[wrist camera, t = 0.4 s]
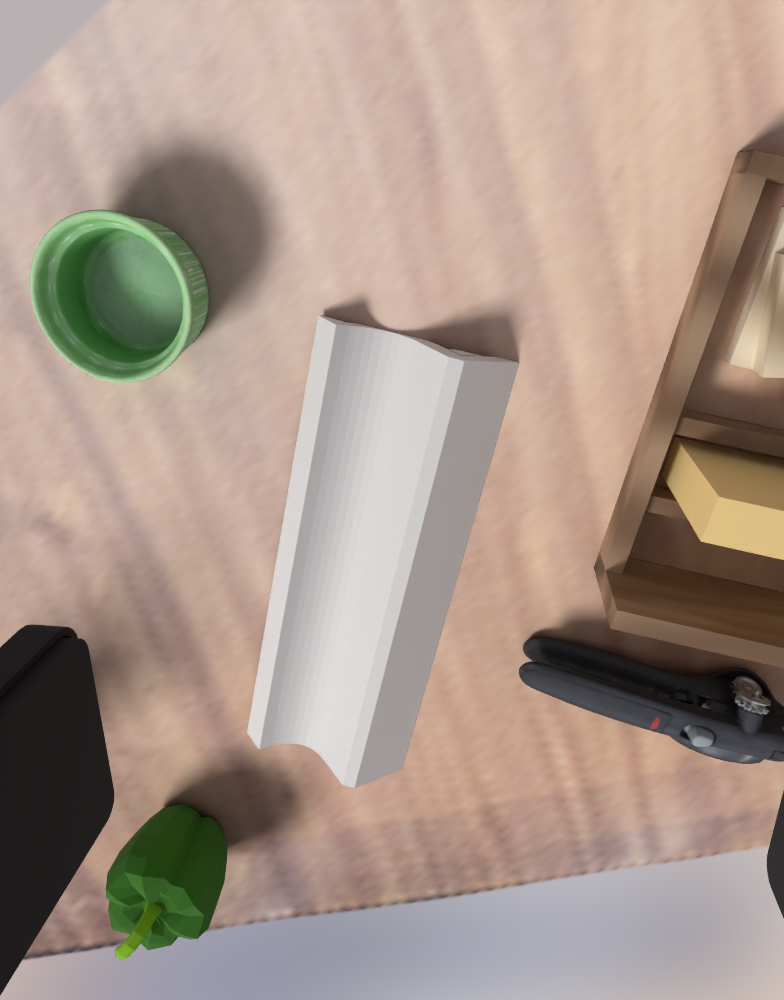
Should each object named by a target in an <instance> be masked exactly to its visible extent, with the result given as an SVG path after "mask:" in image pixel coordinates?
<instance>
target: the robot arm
mask: <svg viewBox="0 0 784 1000" xmlns="http://www.w3.org/2000/svg"><path fill="white" fill-rule="evenodd" d="M113 803H114V788H113V783H112V777H111V771H110V766H109V760H108V755H107V749H106V743H105V738H104V732H103V727H102V721H101V716H100V710H99V704H98V699H97V693H96V688H95V682H94V676H93V671H92V665H91V660H90V654H89V649H88V646H87V643H86V642H85V641H84V640H83V639H78V637H77V634H76V633H75V632H74V630H73V629H71V628H69V627H59V626H45V625H26V626H24V627H23V628H21V629H20V630H19V631H18V632H17V633H15V634H14V635H13V636H12V637H11V638H10V639H9V640H8V641H7V642H6V643H5V644H3V645H2V646H1V647H0V995H1V993H2V992H3V990H4V989H5V987H6V985H7V983H8V982H9V980H10V979H11V977H12V975H13V974H14V972H15V971H16V969H17V967H18V966H19V964H20V962H21V961H22V959H23V958H24V956H25V954H26V953H27V951H28V949H29V948H30V946H31V945H32V943H33V941H34V940H35V938H36V936H37V935H38V933H39V932H40V930H41V928H42V927H43V925H44V923H45V922H46V920H47V919H48V917H49V915H50V914H51V912H52V910H53V909H54V907H55V905H56V904H57V902H58V901H59V899H60V897H61V896H62V894H63V892H64V891H65V889H66V888H67V886H68V884H69V883H70V881H71V879H72V878H73V876H74V875H75V873H76V871H77V870H78V868H79V866H80V865H81V863H82V862H83V860H84V858H85V857H86V855H87V853H88V852H89V850H90V849H91V847H92V845H93V844H94V842H95V840H96V839H97V837H98V836H99V834H100V832H101V831H102V829H103V827H104V826H105V824H106V822H107V821H108V819H109V817H110V814H111V811H112V808H113ZM767 871H768V878H769V882H770V885H771V888H772V891H773V893H774V896H775V898H776V901H777V903H778V906H779V908H780V910H781V913H782V915H783V918H784V792H783V795H782V799H781V803H780V807H779V811H778V815H777V819H776V823H775V827H774V830H773V834H772V838H771V842H770V846H769V850H768V855H767Z"/></svg>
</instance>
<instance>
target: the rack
mask: <svg viewBox="0 0 784 1000" xmlns="http://www.w3.org/2000/svg"><path fill="white" fill-rule="evenodd" d="M765 181H769V182H773V183H778V184H783V185H784V156H781V155H776V154H771V153H766V152H761V151H756V150H750V151H742V152H738V153H737V156H736V159H735V161H734V164H733V167H732V170H731V173H730V176H729V179H728V182H727V185H726V187H725V190H724V193H723V196H722V199H721V202H720V205H719V208H718V211H717V213H716V216H715V219H714V222H713V225H712V228H711V231H710V234H709V237H708V240H707V242H706V245H705V248H704V251H703V254H702V257H701V260H700V263H699V266H698V268H697V271H696V274H695V277H694V280H693V283H692V286H691V289H690V292H689V294H688V297H687V300H686V303H685V306H684V309H683V312H682V315H681V318H680V321H679V323H678V326H677V329H676V332H675V335H674V338H673V341H672V344H671V347H670V349H669V352H668V355H667V358H666V361H665V364H664V367H663V370H662V373H661V375H660V378H659V381H658V384H657V387H656V390H655V393H654V396H653V399H652V401H651V404H650V407H649V410H648V413H647V416H646V419H645V422H644V425H643V428H642V430H641V433H640V436H639V439H638V442H637V445H636V448H635V451H634V454H633V456H632V459H631V462H630V465H629V468H628V471H627V474H626V477H625V480H624V482H623V485H622V488H621V491H620V494H619V497H618V500H617V503H616V506H615V509H614V511H613V514H612V517H611V520H610V523H609V526H608V529H607V532H606V535H605V537H604V540H603V543H602V546H601V549H600V552H599V555H598V558H597V561H596V563H595V566H594V569H595V573H596V577H597V581H598V584H599V588H600V592H601V596H602V600H603V603H604V607H605V611H606V615H607V618H608V622H609V626H610V629H614V630H618V631H622V632H627V633H631V634H635V635H640V636H644V637H649V638H653V639H657V640H662V641H666V642H670V643H675V644H679V645H684V646H688V647H692V648H697V649H701V650H705V651H710V652H714V653H719V654H723V655H727V656H732V657H736V658H740V659H745V660H749V661H754V662H758V663H762V664H767V665H771V666H775V667H780V668H784V593H783V592H779V591H775V590H770V589H766V588H761V587H757V586H752V585H748V584H743V583H739V582H734V581H730V580H726V579H721V578H717V577H712V576H708V575H703V574H699V573H694V572H690V571H686V570H681V569H677V568H672V567H668V566H663V565H659V564H654V563H650V562H646V561H641V560H637V559H632V558H628V556H629V554H630V551H631V548H632V545H633V543H634V540H635V537H636V534H637V532H638V529H639V526H640V524H641V521H642V518H643V515H644V513H645V511H646V512H651V513H655V514H660V515H664V516H669V517H673V518H678V519H682V520H687V521H688V519H687V517H686V515H685V514H684V512H683V510H682V508H681V507H680V505H679V503H678V502H677V500H676V498H675V496H674V495H673V493H672V491H671V490H670V488H666V487H661V486H657V485H655V482H656V480H657V477H658V474H659V472H660V469H661V466H662V463H663V461H664V458H665V455H666V452H667V450H668V447H669V444H670V441H671V439H672V436H673V434H678V435H682V436H687V437H691V438H696V439H700V440H705V441H710V442H714V443H719V444H723V445H728V446H733V447H737V448H742V449H746V450H751V451H755V452H760V453H765V454H769V455H774V456H778V457H783V458H784V431H783V430H778V429H774V428H769V427H764V426H760V425H755V424H751V423H746V422H741V421H737V420H732V419H728V418H723V417H718V416H714V415H709V414H704V413H700V412H695V411H691V410H686V409H683V406H684V403H685V400H686V398H687V395H688V392H689V389H690V387H691V384H692V381H693V378H694V376H695V373H696V370H697V367H698V365H699V362H700V359H701V356H702V354H703V351H704V348H705V346H706V343H707V340H708V337H709V335H710V332H711V329H712V326H713V324H714V321H715V318H716V315H717V313H718V310H719V307H720V304H721V302H722V299H723V296H724V294H725V291H726V288H727V285H728V283H729V280H730V277H731V274H732V272H733V269H734V266H735V263H736V261H737V258H738V255H739V252H740V250H741V247H742V244H743V241H744V239H745V236H746V233H747V231H748V228H749V225H750V222H751V220H752V217H753V214H754V211H755V209H756V206H757V203H758V200H759V198H760V195H761V192H762V189H763V187H764V184H765Z"/></svg>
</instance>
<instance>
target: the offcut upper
mask: <svg viewBox="0 0 784 1000" xmlns="http://www.w3.org/2000/svg"><path fill="white" fill-rule="evenodd" d="M753 371H754V372H756V373H757V374H758V375H760V376H761V377H765V378H784V253H775V256H774V261H773V266H772V271H771V277H770V282H769V287H768V292H767V298H766V303H765V308H764V313H763V318H762V324H761V329H760V334H759V339H758V344H757V350H756V355H755V360H754V365H753Z"/></svg>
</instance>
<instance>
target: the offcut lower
mask: <svg viewBox="0 0 784 1000" xmlns="http://www.w3.org/2000/svg"><path fill="white" fill-rule="evenodd" d="M775 253H784V207H781V209H780V212H779V214H778V217H777V220H776V222H775V225H774V228H773V230H772V233H771V236H770V238H769V241H768V243H767V246H766V249H765V251H764V254H763V257H762V259H761V262H760V265H759V267H758V270H757V273H756V275H755V278H754V281H753V283H752V286H751V289H750V291H749V294H748V296H747V299H746V302H745V304H744V307H743V310H742V312H741V315H740V318H739V320H738V323H737V326H736V328H735V331H734V334H733V336H732V339H731V342H730V344H729V347H728V349H727V352H726V355H725V357H724V361H726V362H727V363H728V364H730V365H734V366H739V367H744V368H749V369H753V365H754V360H755V355H756V350H757V344H758V339H759V334H760V329H761V324H762V318H763V313H764V308H765V303H766V298H767V292H768V287H769V282H770V277H771V271H772V266H773V261H774V256H775Z"/></svg>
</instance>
